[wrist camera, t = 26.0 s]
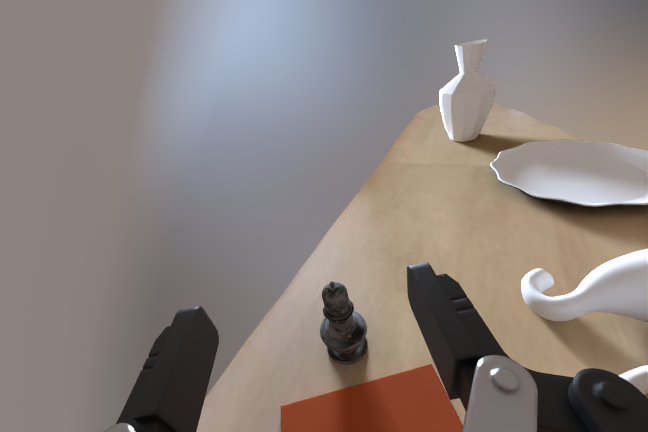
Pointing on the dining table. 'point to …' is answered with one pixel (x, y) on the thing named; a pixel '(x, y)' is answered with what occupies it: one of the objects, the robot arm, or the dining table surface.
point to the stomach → (597, 297)
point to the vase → (467, 95)
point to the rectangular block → (378, 407)
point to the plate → (576, 172)
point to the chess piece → (342, 326)
